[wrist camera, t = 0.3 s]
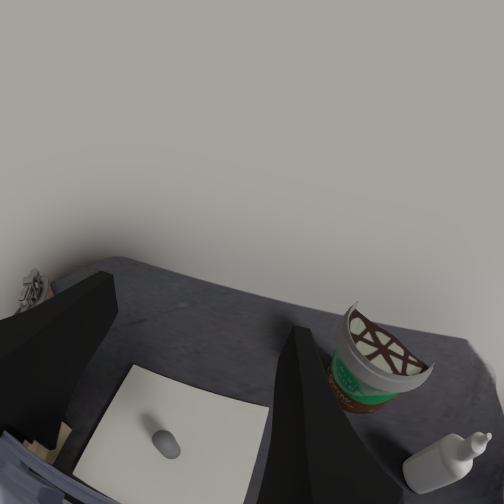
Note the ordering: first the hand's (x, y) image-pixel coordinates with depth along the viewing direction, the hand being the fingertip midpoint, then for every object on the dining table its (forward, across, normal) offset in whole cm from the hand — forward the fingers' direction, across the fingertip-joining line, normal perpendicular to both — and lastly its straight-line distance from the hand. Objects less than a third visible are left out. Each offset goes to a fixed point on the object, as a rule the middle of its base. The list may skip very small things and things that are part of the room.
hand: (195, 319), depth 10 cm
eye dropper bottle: (-2, -25, +19) cm, 32 cm away
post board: (0, +2, +21) cm, 21 cm away
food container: (+10, -16, +19) cm, 27 cm away
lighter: (+8, +23, +23) cm, 33 cm away
